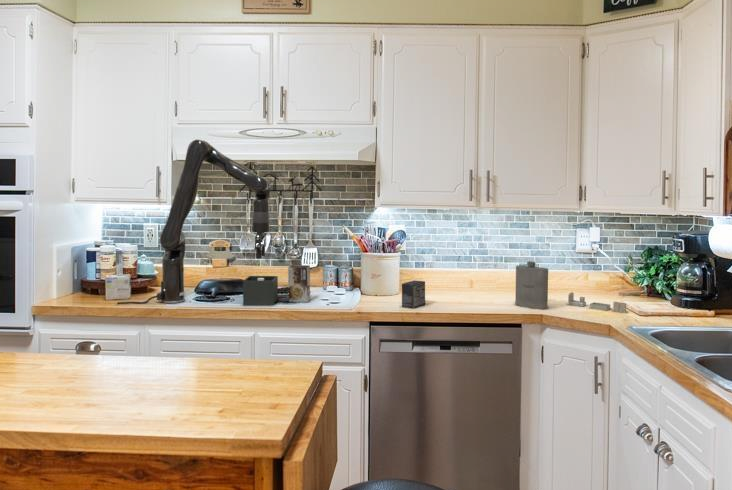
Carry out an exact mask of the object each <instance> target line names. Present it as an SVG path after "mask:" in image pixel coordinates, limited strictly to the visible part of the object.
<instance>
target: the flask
mask: <svg viewBox="0 0 732 490" xmlns="http://www.w3.org/2000/svg"><path fill="white" fill-rule="evenodd" d="M548 300H549V268H547V267H539V266H536V262H535V261H531V260H529V261H527V262H526V265H521V264H520V265H516V266H515V304H514V305H516V306H519V307H523V308H527V309H528V308H529V309H535V310H547V309H548V307H549V306H548V305H549V303H548V302H549V301H548Z"/></svg>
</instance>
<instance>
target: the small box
mask: <svg viewBox="0 0 732 490" xmlns="http://www.w3.org/2000/svg"><path fill="white" fill-rule="evenodd" d="M424 305H426V281H424V280H411V281H407V282H404V283H403V282H402V283H401V307H402V308H408V309H416V308H418V307H421V306H424Z"/></svg>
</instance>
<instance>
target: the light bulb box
mask: <svg viewBox="0 0 732 490" xmlns="http://www.w3.org/2000/svg"><path fill="white" fill-rule="evenodd" d="M131 280H132V279H131V274H130V273H125V274H107V275H106V276H105V277H104V281H105V301H111V300H127V299H131V297H132V282H131Z"/></svg>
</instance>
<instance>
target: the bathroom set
mask: <svg viewBox="0 0 732 490" xmlns="http://www.w3.org/2000/svg"><path fill="white" fill-rule="evenodd" d="M574 294H575V293H574V292H573V291H571V292H569V293H568V296H567V297H568V302H567V304H568V306H574V307H581V308H584V307H585V306H587V302H586V298H585V296H579V300H575V298H574V297H575V296H574ZM612 307H613V308H612V311H613V312H616V313H622V314H626V313H627V302H619V301H613V305H612ZM589 309H593V310H598V311H599V310H601V311H609V310H611V304H609V303H601V302H594V301H593V302H591V303H589Z"/></svg>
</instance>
